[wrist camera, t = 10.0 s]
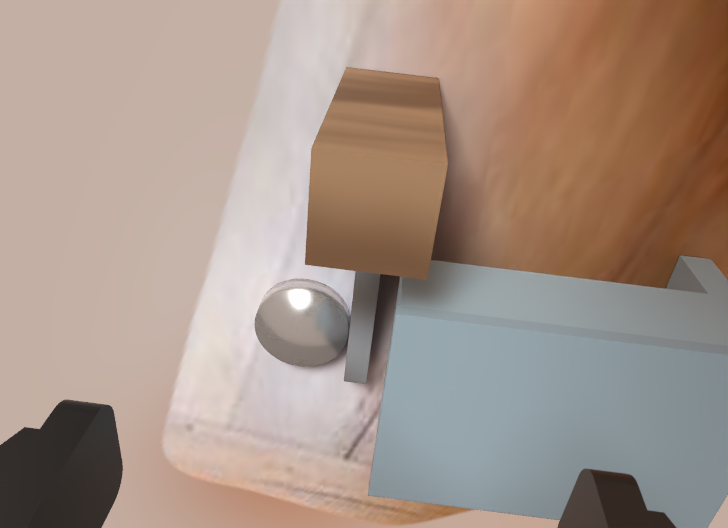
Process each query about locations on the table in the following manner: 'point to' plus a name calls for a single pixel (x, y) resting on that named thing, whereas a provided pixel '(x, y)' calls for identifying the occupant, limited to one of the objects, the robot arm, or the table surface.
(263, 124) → the table surface
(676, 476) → the plinth shelf
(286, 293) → the silver metal disc
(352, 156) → the wood grain block
